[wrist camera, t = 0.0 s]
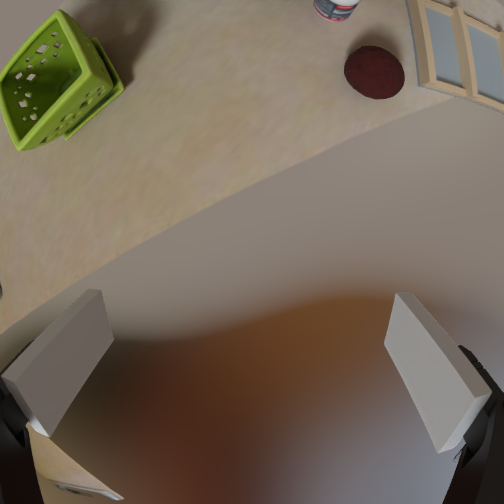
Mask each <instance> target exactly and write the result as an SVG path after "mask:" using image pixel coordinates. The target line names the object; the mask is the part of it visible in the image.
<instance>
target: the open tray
mask: <svg viewBox="0 0 504 504" xmlns="http://www.w3.org/2000/svg"><path fill="white" fill-rule="evenodd" d="M406 4H407V9H408V14H409V19H410V25H411V31H412V37H413V43H414V51H415V59H416V68H417V78H418V86H419V87H423V88H427V89H431V90H435V91H439V92H442V93H446V94H449V95H452V96H455V97H459V98H462V99H465V100H468V101H471V102H474V103H476V104H479V105H482V106H485V107H487V108H490V109H493V110H495V111H497V112H500V113H502V114H504V31H502V32H497V31H496V30H494V29H492V28H490V27H488V26H487V25H485V24H483V23H481V22H479V21H477V20H475V19H473V18H471V17H469V16H467V15H465V14H464V12H463V8H461V7H459V6H455V7H454V8H452V9H451V8H449V7H447V6H444V5H442V4H439V3H437V2H434V1H431V0H406Z"/></svg>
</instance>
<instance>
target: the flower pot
mask: <svg viewBox="0 0 504 504" xmlns="http://www.w3.org/2000/svg"><path fill="white" fill-rule="evenodd" d="M55 31H56V32H57V34H56V35H52V33H53V32H55ZM57 42H61V43H62V44H61V45H60V46H59V47H57V46H55V44H56V43H57ZM42 44H44V45H47V46H48V47H47V48H46V49H45V50H44V51H43V52H42V53H39V52H36V51H37V49H38V48H39V47H40V46H41V45H42ZM55 52H57V53H58V54H57V55H56V56H55V55H54V53H55ZM27 58H29V60H26V59H27ZM44 58H46V61H44V62H43V63H42V62H41V61H42V60H43V59H44ZM28 65H32V67H31V68H27V67H28ZM20 72H21V73H22V76H21V77H20V78H19V79H16V78H15V76H16V75H17V74H19V73H20ZM31 73H32V74H35V75H36V76H35V77H34V78H33V79H32V80H31V81H29V80H27V79H26V78H27V77H28V76H29V75H30V74H31ZM124 90H125V87H124V85H123V83H122V81H121V79H120V77H119V76H118V74H117V72H116V70H115V68H114V66H113V65H112V63H111V61H110V59H109V57H108V56H107V54H106V52H105V50H104V48H103V47H102V45H101V43H100V41H99V40H98V38H97V37H93V38H91V39H90V40H89V38H88V37H87V35H86V34H85V32H84V31H83V30H82V28H81V27H80V26H79V25H78V23H77V22H76V21H75V20H74V19H73V18H71V17H70V16H69V15H68V14H67V13H65V12H64V11H62V10H60V9H59V10H57V11H56V12H54V13H53V14H52V15H51V16H50V17H49V18H48V19H47V20H46V21H44V22H43V23H42V24H41V25H40V27H38V28H37V29H36V30H35V31H34V32H33V34H32V35H31V36H30V37H29V38H28V39H27V40H26V41H25V42H24V44H22V46H21V47H20V48H19V49H18V50H17V52H16V53H15V54H14V55H13V56H12V58H11V59H10V60H9V62H8V63H7V64H6V65H5V67H4V68H3V70H2V71H1V72H0V108H1V112H2V115H3V118H4V121H5V124H6V126H7V129H8V131H9V134H10V136H11V138H12V141H13V143H14V145H15V147H16V148H17V150H18V151H26V150H30V149H34V148H37V147H40V146H42V145H45V144H47V143H49V142H51V141H53V140H55V139H56V138H58V137H59V136H61V135H63V137H64V139H65V140H68V139H70V138H71V137H72V136H73V135H74V134H75V133H76V132H77V131H78V130H80V129H81V128H82V127H83V126H84V125H85V124H86V123H88V122H89V121H90V120H91V119H92V118H93V117H94V116H95V115H97V114H98V113H99V112H100V111H101V110H102V109H104V108H105V107H106V106H107V105H108V104H109V103H111V102H112V101H113V100H114V99H115V98H117V97H118V96H119V95H120V94H121V93H123V92H124ZM15 93H16V94H15ZM25 94H28V95H30V98H29V97H26V96H25ZM19 102H24V103H25V105H26V107H20V105H19ZM33 108H35V109H36V110H34V109H33ZM30 115H33V116H34V117H35V119H36V120H32V119H31V118H30ZM22 118H23V119H24V120H23V119H22ZM47 136H48V137H47Z"/></svg>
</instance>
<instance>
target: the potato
mask: <svg viewBox="0 0 504 504" xmlns="http://www.w3.org/2000/svg"><path fill="white" fill-rule="evenodd" d="M344 75H345V77H346V79H347V81H348V83H349V84H350V85H351V86H352V87H353V88H354V89H355V90H357V91H358V92H360V93H361V94H363V95H364V96H366V97H369V98H373V99H387V98H390V97H393V96H394V95H396V94H397V93H398V92H399V91H400V90H401V89H402V87H403V85H404V81H405V76H404V70H403V68H402V65H401V64H400V62H399V60H398V59H397V58H396V57H395V56H394V55H392V54H391V53H390V52H388V51H386V50H384V49H383V48H380V47H376V46H363V47H361V48H359V49H358V50H356V51H355V52H353V53H352V54H351V55H349V57H348V59H347V61H346V63H345V66H344Z"/></svg>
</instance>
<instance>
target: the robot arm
mask: <svg viewBox="0 0 504 504" xmlns="http://www.w3.org/2000/svg"><path fill="white" fill-rule="evenodd" d="M113 340H114V338H113V335H112V331H111V328H110V324H109V320H108V316H107V312H106V308H105V305H104V301H103V296H102V292H101V290H93V289H88V290H87V291H86V292H85V293H83V294H82V295H81V296H80V297H79V298H78V299H77V300H76V301H75V302H74V303H72V305H70V306H69V307H68V308H67V309H66V310H65V311H64V312H63V313H62V314H61V315H60V316H59V317H58V318H57V319H56V320H55V321H54V322H52V324H50V325H49V326H48V327H47V328H46V329H45V330H44V331H43V332H42V333H41V334H40V335H39V336H38V337H37V338H36V339H35V340H33V341H32V342H30V343H28V344H27V345H26V346H25V347H24V348H23V349H22V350H21V353H18V354H17V355H16V357H15V359H13V360H12V361H11V362H10V363H9V364H8V365H7V366H6V367H5V368H4V369H3V370H2V372H1V373H0V504H44V502H43V498H42V495H41V491H40V487H39V484H38V480H37V475H36V470H35V466H34V461H33V456H32V450H31V444H30V438H29V432H28V429H27V428H26V426H25V425H26V424H27V422H28V421H29V422H30V424H31V425H32V427H33V428H34V429H35V431H37V432H39V433H41V434H43V435H46V436H48V437H50V436H51V435H52V433H53V431H54V430H55V428H56V426H57V425H58V423H59V422H60V420H61V418H62V417H63V415H64V413H65V412H66V410H67V409H68V407H69V405H70V404H71V402H72V401H73V399H74V398H75V396H76V395H77V393H78V392H79V390H80V389H81V387H82V385H83V384H84V382H85V381H86V379H87V378H88V376H89V375H90V373H91V372H92V370H93V369H94V368H95V366H96V364H97V363H98V362H99V360H100V359H101V357H102V356H103V354H104V353H105V352H106V350H107V348H108V347H109V346H110V344H111V343H112V342H113ZM384 345H385V347H386V349H387V350H388V352H389V354H390V355H391V358H392V360H393V361H394V364H395V365H396V367H397V369H398V371H399V373H400V375H401V377H402V379H403V381H404V383H405V385H406V387H407V389H408V391H409V393H410V395H411V397H412V399H413V401H414V403H415V405H416V407H417V409H418V411H419V413H420V415H421V418H422V420H423V422H424V424H425V426H426V428H427V431H428V433H429V435H430V437H431V439H432V442H433V444H434V446H435V448H436V451H437V453H441V452H443V451H446V450H449V449H452V448H455V447H456V445H457V444H458V443H459V441H460V440H461V439H462V437H464V440H465V442H466V444H465V445H464V447H463V448H462V449H461V450H460V452H459V453H458V454H457V455H456V456H455V458H454V460H453V462H455V461H456V460H457V459H458V458H459V457H460V458H459V461H458V464H457V467H456V470H455V473H454V476H453V478H452V481H451V484H450V487H449V489H448V491H447V494H446V496H445V498H444V501H443V503H442V504H504V392H502V391H501V389H500V388H499V387H498V385H497V384H496V383H495V381H494V380H493V379H492V377H491V376H490V375H489V373H488V372H487V371H486V370H485V369H483V366H482V365H481V363H480V362H478V360H477V358H476V357H475V356H474V355H473V354H472V352H471V351H469V350H468V349H466V348H465V347H463V346H461V345H459V346H457V345H456V344H455V342H454V341H453V340H452V339H451V338H450V336H449V335H448V334H447V333H446V332H445V330H444V329H443V328H442V327H441V326H440V324H439V323H438V322H437V321H436V320H435V319H434V318H433V316H432V315H431V314H430V313H429V312H428V311H427V310H426V309H425V307H424V306H423V305H422V304H421V303H420V302H419V301H418V299H417V298H416V297H415V296H414V295H413V294H412V293H411V292H398V293H396V295H395V300H394V305H393V309H392V314H391V318H390V323H389V326H388V330H387V334H386V338H385V342H384Z"/></svg>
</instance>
